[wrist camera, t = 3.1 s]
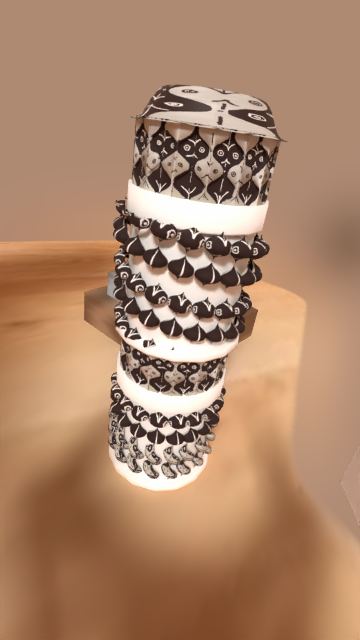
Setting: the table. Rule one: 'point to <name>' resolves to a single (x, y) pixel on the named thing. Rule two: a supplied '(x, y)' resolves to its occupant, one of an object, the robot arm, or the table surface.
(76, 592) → the table surface
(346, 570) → the table surface
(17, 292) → the table surface
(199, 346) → the patterned studded column
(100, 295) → the tower base
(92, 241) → the table surface
